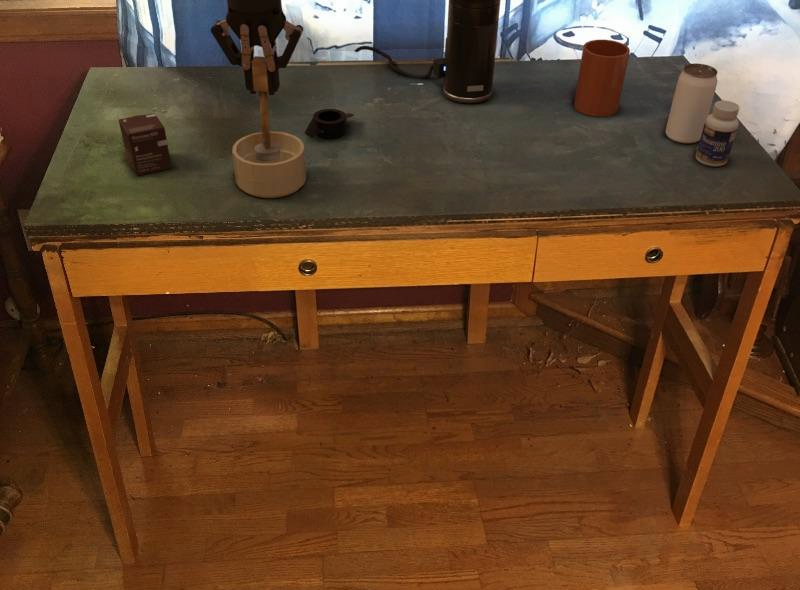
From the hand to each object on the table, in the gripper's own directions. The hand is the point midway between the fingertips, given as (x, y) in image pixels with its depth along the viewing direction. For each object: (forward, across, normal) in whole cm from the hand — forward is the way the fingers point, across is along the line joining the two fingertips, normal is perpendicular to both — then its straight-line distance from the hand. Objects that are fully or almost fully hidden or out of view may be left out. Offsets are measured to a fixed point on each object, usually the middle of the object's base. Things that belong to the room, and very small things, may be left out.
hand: (263, 92), depth 129 cm
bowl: (+15, 0, 0) cm, 15 cm away
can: (+15, -69, -26) cm, 76 cm away
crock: (+15, -54, -36) cm, 67 cm away
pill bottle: (+15, -73, -18) cm, 77 cm away
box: (+15, +21, -2) cm, 26 cm away
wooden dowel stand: (+10, 0, +1) cm, 10 cm away
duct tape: (+15, -6, -19) cm, 25 cm away
